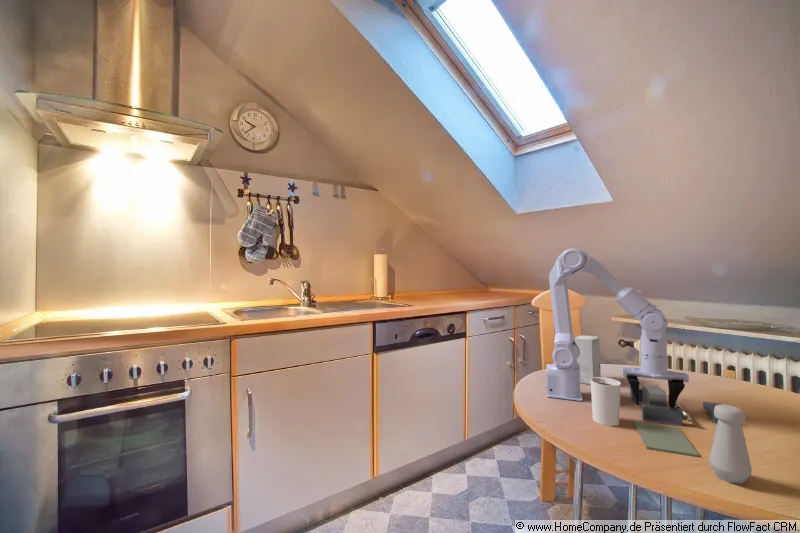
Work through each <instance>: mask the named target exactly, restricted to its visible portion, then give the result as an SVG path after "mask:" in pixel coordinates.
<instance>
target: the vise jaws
mask: <svg viewBox="0 0 800 533" xmlns="http://www.w3.org/2000/svg"><path fill="white" fill-rule="evenodd" d="M629 386H630V385H629ZM629 388H630V389H629V391H630V393H629V395H630V396H629V397H630V401H631V402H635V400H634V395H633V392H632V389H631V386H630V387H629ZM662 390H663V392H664V393H665V394H666V393H667V392H666V391H665V390H664V389H662ZM666 395H667V394H666ZM667 398H668V399H669V394H668V395H667ZM639 401H640V404H641V405H640V406H641V412H640V414H641V417H640V418H641V419H642V421H644V422H650V423H659V424H664V425H665V424H666V425H671V426H672V425H674V426H680V427H684V425H683V423H684V422H683V419H684V418H685V419H686V420H687V421H688V422H690V423H692V422H693V420H694V418H692V417H691V416H690V415H689V413H688V411H686V410H685V409H684V408H683V407H682V406H681V405H680V403H679V402H678V400H677V401H676V404H675V408H672V407H669V406H667V407H663V406H655V405H647V404H643V397H642V387H640V386H639ZM683 416H684V418H683Z"/></svg>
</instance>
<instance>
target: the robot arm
mask: <svg viewBox="0 0 800 533" xmlns="http://www.w3.org/2000/svg"><path fill="white" fill-rule="evenodd" d="M580 270H581V272H582V273H586V274H591V275H593V276H594V277H596V278H597V279H598V280H599V281H600V282H601V283H602V284H603V285H604V286H606V287H607V288H608V289H609V290H611V292H612V293H614V294H615V302H616V303H617V304H618V305H619V306H621V308H622V309H624V310H625V311H626V312H627V313H628V314H629V315H630V316H631V317H632V318H633V319H634V320H638V321H639V325H640V327H641V336H640V367H621V376H622V377H625V378H626V380H627V381H628V382H627V383H628V384H629V386H631V389H632V392H633V395H634V400H635V401H634V403H635V405H637V406H640V404H641V402H640V401H639V387H640V381H639V378H645V379H653V380H654V379H655V380H664V381H665V380H666V381H667V384H668V385H667V386H668V395H669V398H668V407H672V408H676V406H675V404H676V401H677V402H678V398H679V396H680V395H681V393H682V391H684V389H685V387H686V386H685V383H687V384H688V383H689V382H690V381H689V379H690V378H689V374H688V373H686V372H680V371H671V370H668V346H667V345H668V343H667V342H668V340H667V339H668V338H667V337H666V336H667V331H666V329H667V328H668V326H669V325H668V324H669V323H668V321H667V320H668V319H667V318H666V315H665V314H664V313H663V312H662V310H661V309H658V306H657V304H655V303H654V304H653V303H651V302H650V301H649V300H648V299H647V298H646V297H645V296H643V295H642V294H643V291H642V290H640V289H636V288H634V287H632V286H631V287H629V286H625V285H624V284H623V283H622V282H621V281H620V280H619V279H618V278H616V277H615V276H614V274H613V273H611V272H610V271H609V270H608V269H607V267H605V266H604V265H603V264H602V263H601V262H600V261H599V260H597V259H595V257H593V256H591V255H589V254H588V253H587V252H586V251H585V250H583V249H579V248H577V247H576V248H575V247H573V248H572V247H570V248H568V249H567V248H566V249H565V250H563V252H562V253H561V254H560V255H558V256H557V258H556V261H555V263H554V265H553V266H552V268H551V271H550V272H549V274H548V282H549V290H550V291H549V292H550V299H551V308H552V316H553V325H554V334H555V335H554V341H553V343H554V344H553V345H554V349H553V351H552V354H551V358H552V363H551V364H549V363H547V364H546V382H545V389H546V397H548V398H554V399H562V400H570V401H578V402H583V395H582V391H581V383H580V365H579V364H578V362H577V360H576V359H577V358H578V357H579V355H580V350H579V347H578V346H577V344H576V342H575V338H576V337H575V334H574V330H573V325H572V324H573V322H572V316H571V314H572V312H571V306H570V297H569V289H568V288H569V287H568V281H569V279H570V278H571V277H572V276H574V274H575V273H576V272H579V271H580Z"/></svg>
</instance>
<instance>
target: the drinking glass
mask: <svg viewBox="0 0 800 533" xmlns="http://www.w3.org/2000/svg"><path fill="white" fill-rule="evenodd" d="M590 381H591V385H590V392H591V394H590V396H591V409H592V413H591V414H592V420H593V422H595V423H597V424H599V425H602V426H606V427H617V426H619V425H620V411H621V408H620V407H621V387H622V385H621V382H620V381H619V380H617V379H614V378H609V377H604V376H603V377H602V376H601V377H593V378H591V380H590Z"/></svg>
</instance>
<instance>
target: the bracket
mask: <svg viewBox="0 0 800 533" xmlns="http://www.w3.org/2000/svg"><path fill="white" fill-rule="evenodd" d="M717 405H723V403H716V402H708V401H703V402H702V407H703V409H704V411H705V412H706V414H707V416H709V418H710V419H711V421H712V422H713V423H714V424H716V425H717V423H718V419H717V418H716V417H715V415H714V408H715V406H717Z"/></svg>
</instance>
